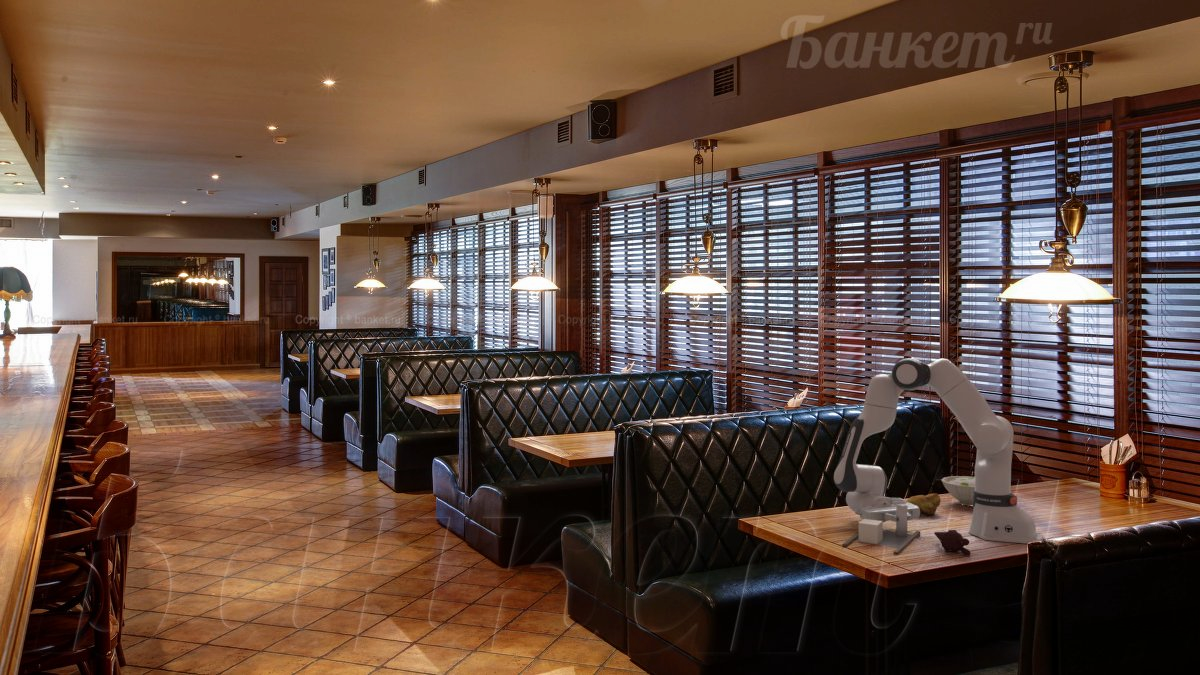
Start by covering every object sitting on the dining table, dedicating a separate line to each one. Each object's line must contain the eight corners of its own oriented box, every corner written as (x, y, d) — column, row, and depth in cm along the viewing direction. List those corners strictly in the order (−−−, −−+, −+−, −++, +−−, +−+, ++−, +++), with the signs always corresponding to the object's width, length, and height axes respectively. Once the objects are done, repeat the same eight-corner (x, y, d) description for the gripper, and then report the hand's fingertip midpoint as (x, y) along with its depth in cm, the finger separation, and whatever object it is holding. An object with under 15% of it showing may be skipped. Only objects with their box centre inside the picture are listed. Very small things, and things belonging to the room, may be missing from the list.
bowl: (1007, 508, 336) (1007, 482, 335) (960, 511, 332) (960, 484, 331) (975, 497, 355) (975, 472, 354) (931, 500, 351) (931, 474, 350)
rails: (920, 537, 299) (920, 531, 299) (897, 558, 275) (897, 552, 275) (868, 530, 308) (868, 524, 308) (842, 550, 285) (842, 543, 285)
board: (913, 537, 297) (913, 504, 297) (899, 550, 283) (899, 516, 282) (870, 531, 305) (870, 499, 304) (854, 544, 290) (854, 510, 290)
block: (882, 539, 292) (882, 521, 292) (877, 543, 287) (877, 525, 287) (864, 536, 295) (864, 518, 295) (858, 541, 290) (858, 522, 290)
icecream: (923, 526, 288) (958, 542, 274) (942, 518, 290) (977, 534, 276) (926, 546, 289) (961, 563, 275) (944, 538, 292) (980, 554, 278)
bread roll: (914, 519, 322) (915, 497, 322) (896, 513, 331) (896, 491, 331) (943, 515, 327) (943, 493, 327) (924, 509, 336) (924, 488, 336)
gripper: (852, 502, 306) (875, 511, 292) (904, 497, 311) (929, 506, 298) (852, 520, 306) (875, 530, 293) (904, 515, 312) (929, 525, 298)
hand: (903, 518), depth 295 cm, fingers closed on board, 3 cm apart
